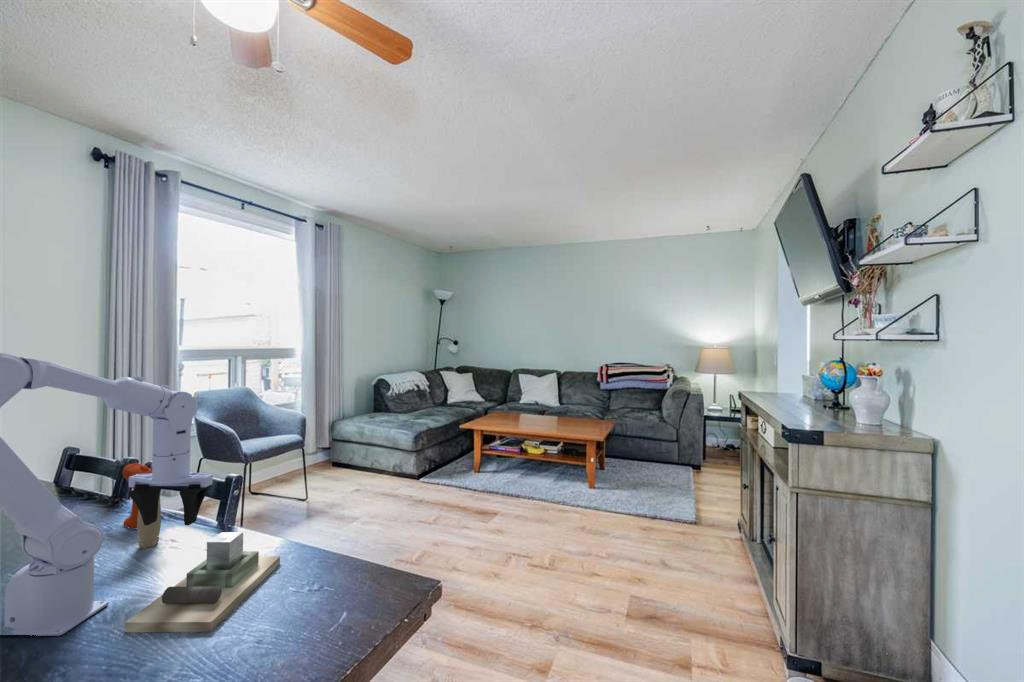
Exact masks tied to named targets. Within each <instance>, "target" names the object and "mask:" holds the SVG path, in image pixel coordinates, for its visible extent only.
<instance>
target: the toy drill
mask: <svg viewBox="0 0 1024 682" xmlns="http://www.w3.org/2000/svg"><path fill="white" fill-rule="evenodd" d="M114 463H115V464H116V465H118V466H119V470H120V471H121V472H122V475H123V478H124V479H125V480H126V482H127V483H128V484H129V477H131V476H134V475H136V474H150V473H152V468H150V467H148V465H146V464H141V463H139V462H138V463H137V462H135V463H132V462H129V461H128V462H123V461H121V460H119V459H116V460H115V461H114ZM134 488H135V487H131V489H132V490H134ZM137 518H138V507H137V505H136V504H135V502H134V501H133V500H132V503H131V514H130V516H128V517H126V518H125V519H124V521H123V526H124V525H125V526H126V527H125V526H124V527H125V528H127V527H129V528H128V529H130V528H137Z"/></svg>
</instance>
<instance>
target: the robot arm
mask: <svg viewBox="0 0 1024 682" xmlns="http://www.w3.org/2000/svg"><path fill="white" fill-rule="evenodd" d="M144 380H145V378H144V377H142V376H139V375H131V377H129V376H122V377H119V378H117V379H113V380H111V379H108V378H104V377H102V376H98V375H96V374H91V373H88V372H85V371H82V370H78V369H76V368H72V367H69V366H65V365H62V364H60V363H56V362H52V361H48V360H42V359H38V358H33V357H25V356H16V355H13V354H10V353H7V352H0V409H1V408H2V407H3V406H4V405H5V404H6V403H7V402H9V401H10V400H11V399H13V398H14V396H16V395H17V394H18V393H19V392H20V391H22V389H23V390H24V389H25V390H36V389H41V388H44V387H49V388H55V389H59V390H65V391H69V392H74V393H78V394H83V395H87V396H91V397H92V396H93V397H97V398H101V399H102V400H103V402H104V404H105V405H106V407H107V408H109V409H113V410H118V411H123V412H126V413H131V414H135V415H140V416H146V417H149V418H150V419H152V420H153V421H152V423H153V424H152V460H151V461H152V464H151V465H152V466H151V470H152V473H150V474H136V475H134V476H131V477H129V483H128V488H132V487H135V488H134V489H132V490H129V491H128V497H129V498H130V499H131V500H132V502H133V501H134V502H135V504H136V505H137V507H138V509H139V511H140V514H141V516H142V520H143V523H144V526H148V525H150V524H152V523H154V522H155V521H156V520H157V515H158V501H159V496H160V497H161V492H162V489H163V487H187V488H184V489H182V490H180V491H179V495H180V498H181V501H182V506H183V524H184V526H190V525H192V524H194V523H196V521H197V518H198V515H199V511H200V509H201V506H202V503H203V501H204V499H205V497H206V495H207V494H208V491H210V489H211V488H212V485H213V482H214V481H213V480H214V479H213V477H214V476H213V474H211V473H202V472H201V473H200V472H194V471H192V470H191V447H192V446H191V445H192V444H191V443H192V442H191V439H192V437H191V436H192V426H193V419H194V417H195V416H196V415H197V412H198V411H199V407H200V404H198V403H197V400H196V398H195V397H194V396H193V395H192V394H191V393H189V392H187V391H177V390H171V386H170V385H167V384H161V386H160V385H157V384H153V383H150V382H146V381H144ZM0 511H1V512H2V513H3V514H4V515H5V516H6V517H7V518H8V519H9V520H10V521H11V522H12V523H13V524H14V531H15V532H16V533H17V534H18V536H19V537H20V539H21V544H20V545H21V546H20V547H21V550H22V552H23V553H24V554H25V555H27V556H28V557H31V561H30V563H29V564H27V565H24V566H23V567H22V568H21V569H18V571H17V572H16V573H14V574H13V576H12V577H11V578H10V580H9V581H8V583H7V586H6V588H5V592H4V593H5V595H4V596H5V597H4V627H5V626H6V627H11V628H13V629H15V630H14V631H15V632H14V634H19V635H30V636H31V637H34V636H35V635H36V636H37V637H42V636H43V637H47V636H48V637H53V636H56V637H58V636H61V635H64V634H66V633H67V632H69V631H70V630H71V629H73V628H75V627H77V626H78V625H79V624H81V623H82V622H84V621H85V620H87V619H89V618H90V617H91V616H93V615H94V614H96V613H97V612H99V611H100V610H103V608H105V607H106V606H108V605H109V604H110V601H109V600H94V599H95V597H94V596H95V595H94V592H95V590H94V589H95V555H97V553H99V551H100V550H101V548H102V546H103V544H104V539H105V538H104V537H105V536H104V532H103V529H102V530H101V528H100V527H99V526H98V525H96V524H91V523H88V522H84V521H83V520H82V519H81V518H80V517H79V516H78V515H77V514H76V513H74V512H73V511H71V510H70V509H68V508H66V507H65V506H64V505H63V504H61V502H60V501H59V500H58V499H57V498H56V497H55V495H53V494H52V492H51V491H50V490H49V489H48V488H47V487H46V486H45V485H44V484H43V483H42V481H41V480H40V479H39V478H38V477H37V475H35V473H34V472H33V471H32V470H31V469H30V468H29V467H28V465H26V463H25V462H24V461H23V460H22V459H21V458H20V456H18V455H17V453H16V452H15V451H14V450H13V449H12V448H11V447H10V445H9V444H8V443H6V441H5V440H4V439H3V438H2V437H1V436H0ZM32 635H34V636H32ZM30 636H29V637H30ZM36 636H35V637H36Z"/></svg>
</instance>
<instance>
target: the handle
mask: <svg viewBox="0 0 1024 682" xmlns="http://www.w3.org/2000/svg"><path fill="white" fill-rule="evenodd" d="M161 509H162V505H161V495H160V496H159V501H158V515H157V520H156V521H155V522H154V523H152V524H150V525H148V526H144V523H143V520H142V516H141V514H140V511H139V509H138V518H137V529H136V531H137V533H136V534H137V537H138V538H137V539H138V543H137V544H138V547H139V548H142V549H145V548H150V547H154V546H155V545H157V544H158V543H159V542H160V533H161V524H162V510H161Z"/></svg>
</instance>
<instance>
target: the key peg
mask: <svg viewBox="0 0 1024 682" xmlns="http://www.w3.org/2000/svg"><path fill="white" fill-rule="evenodd" d="M243 551H244V531H240V532H239V531H237V532H235V531H234V532H233V531H230V532H229V531H225V532H224V531H223V532H222V531H221V532H220V533H218V534H217V535H216V536H214V537H213V538H211V539H210V540H208V541H207V542H206V559H207V570H230V569H232V568H233V567H234V566H235V565H237V564H238V563H239V562H240V561H241V560H243Z"/></svg>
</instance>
